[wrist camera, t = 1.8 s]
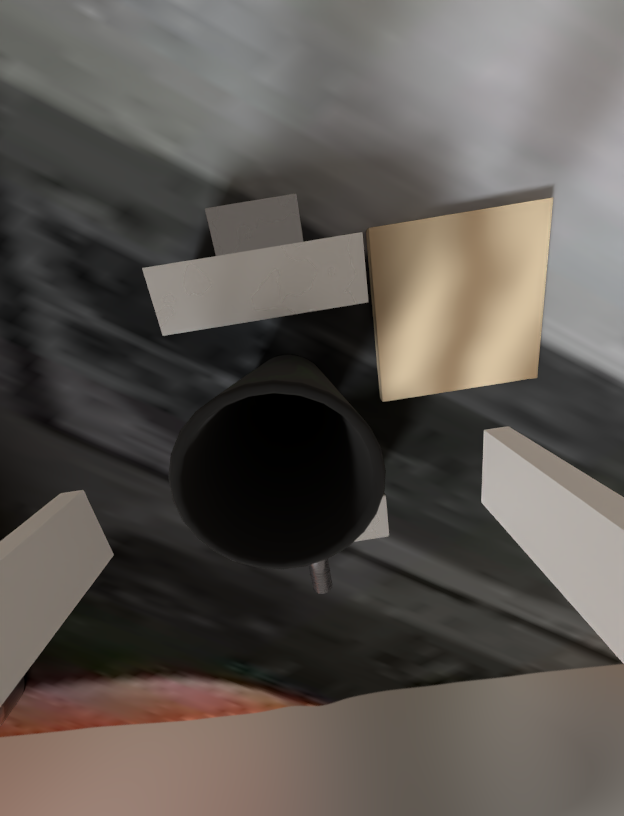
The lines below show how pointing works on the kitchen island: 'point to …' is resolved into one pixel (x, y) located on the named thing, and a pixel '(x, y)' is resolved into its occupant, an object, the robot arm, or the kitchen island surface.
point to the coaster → (459, 298)
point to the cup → (277, 468)
